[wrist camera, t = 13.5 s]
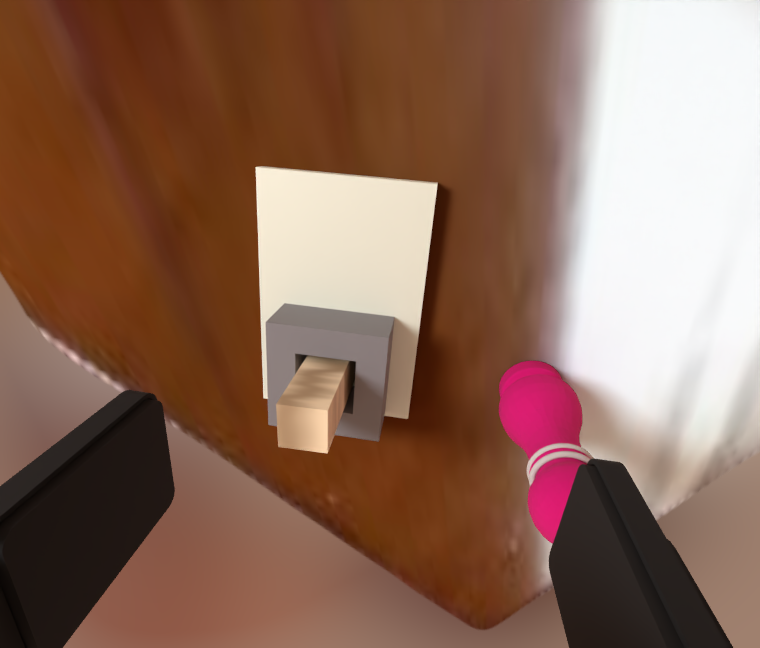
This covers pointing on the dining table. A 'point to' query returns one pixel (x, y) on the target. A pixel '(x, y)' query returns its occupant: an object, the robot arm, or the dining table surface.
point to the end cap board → (343, 284)
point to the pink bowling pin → (544, 437)
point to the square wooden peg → (314, 403)
